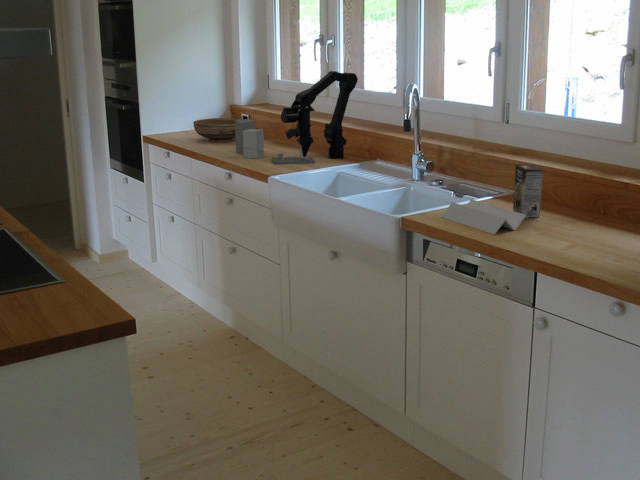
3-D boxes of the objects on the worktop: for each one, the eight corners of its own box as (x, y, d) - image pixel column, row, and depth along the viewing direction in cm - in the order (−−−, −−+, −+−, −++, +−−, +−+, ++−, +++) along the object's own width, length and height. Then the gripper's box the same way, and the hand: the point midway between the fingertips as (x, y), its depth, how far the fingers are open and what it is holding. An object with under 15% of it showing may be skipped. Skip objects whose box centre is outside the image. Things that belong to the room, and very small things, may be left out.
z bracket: (503, 246, 241) (493, 234, 238) (450, 227, 262) (441, 216, 258) (526, 215, 243) (516, 203, 240) (471, 199, 264) (462, 188, 260)
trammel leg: (306, 157, 358) (306, 144, 356) (307, 158, 355) (307, 145, 353) (300, 157, 358) (300, 144, 356) (301, 158, 355) (301, 145, 353)
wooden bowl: (259, 143, 406) (258, 124, 403) (206, 147, 394) (205, 127, 391) (234, 134, 438) (234, 116, 435) (185, 137, 426) (184, 119, 423)
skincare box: (250, 151, 383) (249, 118, 379) (257, 153, 377) (256, 120, 373) (234, 152, 379) (233, 119, 374) (241, 154, 373) (240, 121, 369)
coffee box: (512, 211, 265) (515, 164, 261) (530, 210, 266) (534, 163, 261) (520, 218, 257) (524, 169, 252) (540, 217, 257) (543, 169, 253)
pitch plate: (311, 158, 363) (311, 151, 362) (314, 163, 352) (314, 155, 351) (272, 159, 361) (272, 151, 360) (274, 164, 349) (274, 156, 348)
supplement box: (264, 156, 369) (264, 129, 365) (256, 158, 362) (256, 131, 359) (250, 155, 372) (250, 128, 368) (243, 157, 365) (242, 130, 362)
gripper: (283, 119, 360) (284, 153, 364) (288, 124, 342) (288, 160, 346) (308, 118, 361) (308, 152, 365) (313, 124, 343) (313, 159, 348)
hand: (304, 156), depth 356 cm, fingers closed on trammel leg, 3 cm apart
